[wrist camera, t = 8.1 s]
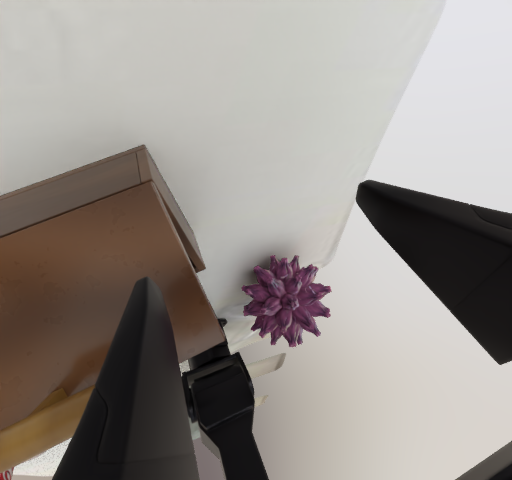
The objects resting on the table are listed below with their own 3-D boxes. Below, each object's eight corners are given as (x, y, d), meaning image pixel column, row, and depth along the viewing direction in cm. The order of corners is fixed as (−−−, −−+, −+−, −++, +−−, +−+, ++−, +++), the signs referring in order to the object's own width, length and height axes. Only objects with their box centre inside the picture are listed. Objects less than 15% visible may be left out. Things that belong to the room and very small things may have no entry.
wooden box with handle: (225, 335, 16) (229, 380, 11) (-9, 452, 14) (-121, 564, 9) (154, 183, 14) (126, 161, 10) (-114, 285, 12) (-304, 317, 8)
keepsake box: (193, 233, 25) (206, 268, 22) (53, 292, 23) (44, 341, 20) (144, 143, 18) (152, 178, 14) (-71, 220, 16) (-119, 280, 12)
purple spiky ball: (261, 224, 31) (324, 250, 36) (218, 287, 35) (280, 302, 41) (295, 291, 22) (371, 312, 27) (232, 364, 26) (308, 368, 32)
